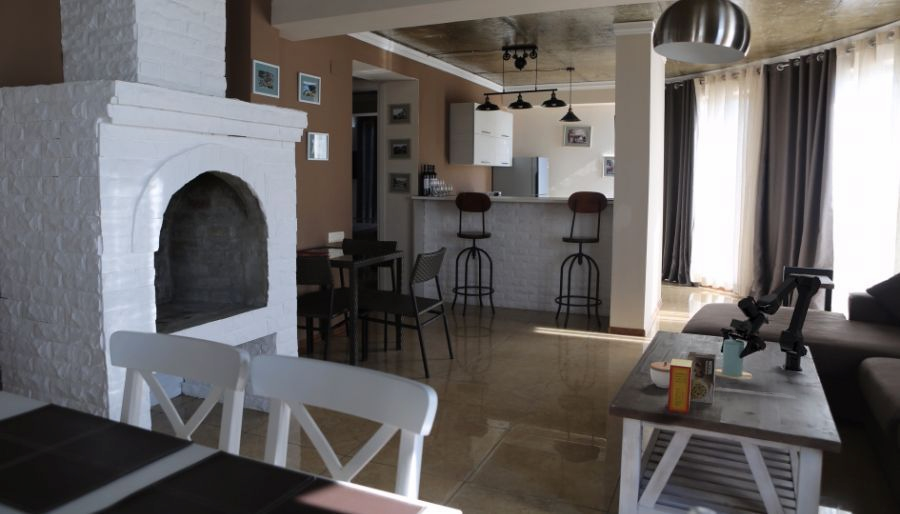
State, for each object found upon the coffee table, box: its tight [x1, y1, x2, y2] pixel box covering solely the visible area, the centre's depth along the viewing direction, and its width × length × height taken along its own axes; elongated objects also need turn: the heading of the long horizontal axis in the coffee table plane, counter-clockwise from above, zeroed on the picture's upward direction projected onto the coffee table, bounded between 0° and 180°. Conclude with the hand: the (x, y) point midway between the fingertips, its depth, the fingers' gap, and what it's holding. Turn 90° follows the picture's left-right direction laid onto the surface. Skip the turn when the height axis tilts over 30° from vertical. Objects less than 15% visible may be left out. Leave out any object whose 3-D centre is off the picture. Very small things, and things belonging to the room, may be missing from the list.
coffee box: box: [687, 351, 717, 405], centre depth 243 cm, size 9×6×16 cm
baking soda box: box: [667, 357, 692, 414], centre depth 234 cm, size 10×6×16 cm
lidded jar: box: [650, 360, 671, 389], centre depth 259 cm, size 11×11×9 cm
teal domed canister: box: [721, 339, 745, 377], centre depth 273 cm, size 7×7×13 cm
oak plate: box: [715, 368, 753, 381], centre depth 273 cm, size 15×15×1 cm
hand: (730, 354), depth 272 cm, fingers open, 9 cm apart
